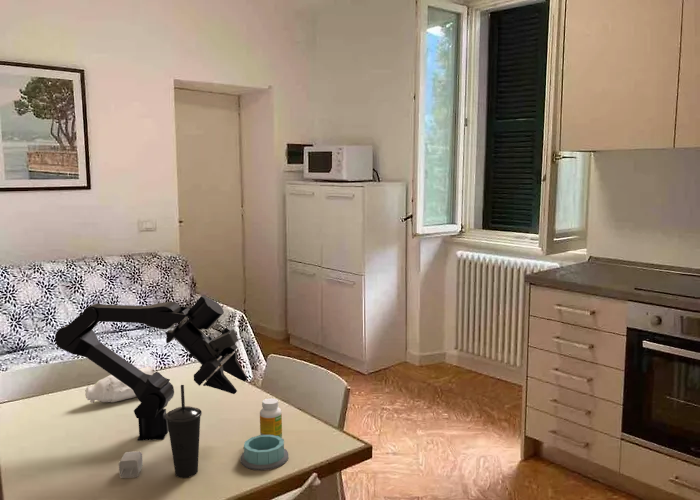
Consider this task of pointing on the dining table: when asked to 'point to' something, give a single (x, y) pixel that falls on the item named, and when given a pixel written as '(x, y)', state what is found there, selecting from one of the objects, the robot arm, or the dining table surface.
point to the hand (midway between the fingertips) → (241, 386)
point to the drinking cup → (184, 438)
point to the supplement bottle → (270, 418)
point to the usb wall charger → (130, 464)
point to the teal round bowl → (264, 453)
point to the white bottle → (112, 389)
